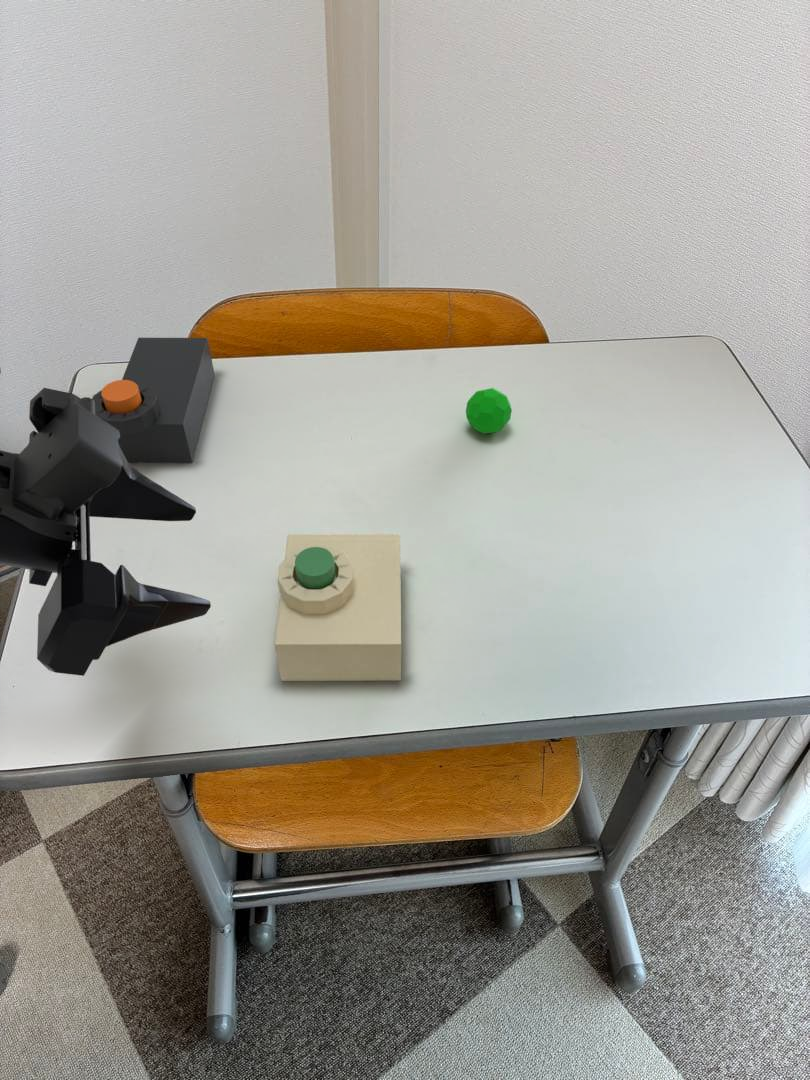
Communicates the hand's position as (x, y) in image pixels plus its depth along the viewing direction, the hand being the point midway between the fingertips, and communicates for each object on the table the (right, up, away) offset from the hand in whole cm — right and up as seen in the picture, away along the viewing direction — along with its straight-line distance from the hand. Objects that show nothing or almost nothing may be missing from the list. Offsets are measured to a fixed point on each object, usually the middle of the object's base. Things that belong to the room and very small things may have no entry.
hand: (200, 558), depth 56 cm
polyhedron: (+24, +14, +34) cm, 43 cm away
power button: (+7, -2, +10) cm, 12 cm away
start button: (-14, +15, +25) cm, 32 cm away
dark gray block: (-13, +15, +34) cm, 39 cm away
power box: (+9, -6, +14) cm, 18 cm away
